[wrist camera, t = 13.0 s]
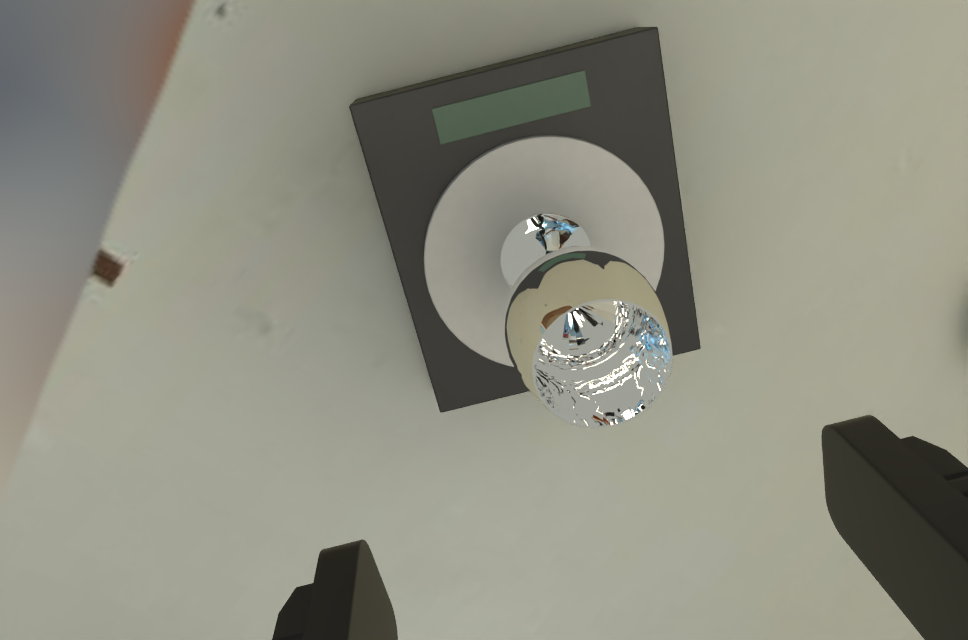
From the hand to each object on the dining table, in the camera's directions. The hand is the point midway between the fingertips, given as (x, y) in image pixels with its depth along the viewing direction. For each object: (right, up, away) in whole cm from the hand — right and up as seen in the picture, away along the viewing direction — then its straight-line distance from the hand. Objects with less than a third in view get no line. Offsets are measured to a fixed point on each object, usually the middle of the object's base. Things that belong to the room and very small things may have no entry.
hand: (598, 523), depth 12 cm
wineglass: (+1, +6, +22) cm, 23 cm away
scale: (0, +9, +25) cm, 26 cm away
